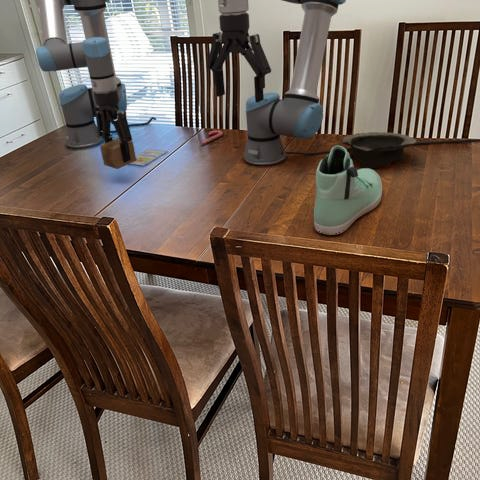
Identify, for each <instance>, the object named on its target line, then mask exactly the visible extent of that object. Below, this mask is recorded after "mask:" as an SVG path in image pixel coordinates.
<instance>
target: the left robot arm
mask: <svg viewBox="0 0 480 480" xmlns="http://www.w3.org/2000/svg"><path fill="white" fill-rule="evenodd" d="M34 1H35V5H36V6H37V8H38V10H39V19H40V29H41V39H42V45H41V46H38V47H36V49H35V55H36V60H37V62H38V66H39V68H40V70H41V71H42V72H58V71H65V70H73V69H83V68H87V71H88V75H89V80H90V85H91V87H89V88H88V86H87V85H86V84H77V85H73V86H70V87H67V88H63V90H61V91H60V92H59V94H58V99H59V105H60V107H61V111H62V115H63V119H64V123H65V126H66V133H65V144H66V148H68V149H70V150H85V149H92V148H94V147H97V146H100V145H102V144H103V143H104V144H105V143H107V142H110V141H112V140H114V139H113V137H112V134H116V135H117V136H118V137H117V138H119V139H120V141H121V143H119V144H120V148H121V153H122V157H123V162H127V161H129V160H131V157H130V152H129V151H130V149H129V144H128V142H129V141H133V137H132V133H131V130H130V129H131V128H130V127H142V126H143V127H144V126H147V125H149V124H151V122H152V121H153V120H154V121H157V118H156V117H154V116H152V117H150V119H149V120H148V121H146V122H143V123H130V124H129V123H128V122H129V121H128V119H127V109H128V99H127V97H128V96H127V89H126V84H125V83H123V82H122V80H121V79H120V78H119V77H118V76H117V75H116V69H115V64H114V59H113V55H112V49H111V44H110V39H109V33H108V29H107V25H106V19H105V14H104V13H105V10H106V9H107V3H108V2H109V1H110V0H34ZM65 6H73V8H74V9H73V10H74V12H76V13H77V14H79V16H80V20H81V25H82V29H83V34H84V37H85V38H84V39H83V40H82V41H79V42H68V38H67V30H66V24H65V18H64V10H63V9H64V8H65ZM111 125H112V126H113V128H114V129H115V130H111Z"/></svg>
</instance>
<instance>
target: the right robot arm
mask: <svg viewBox="0 0 480 480" xmlns="http://www.w3.org/2000/svg"><path fill="white" fill-rule="evenodd" d="M281 1H283V2H286V3H291V4H295V5H301V6H300V8H301V9H302V10H303V12H304V16H303V21H302V26H301V32H300V37H299V40H298V41H299V42H298V47H297V51H296V52H297V53H296V58H295V63H294V68H293V73H292V77H291V78H292V79H291V84H290V88H289V90H287V91H286V92H285V93H284V96H283V99H280V98H281V97H280V94H279V93H278V92H264V89H266V75H268V74H271V73H272V67H271V65H270V63H269V61H268V58H267V56H266V54H265V51H264V48H263V47H262V44H261V38H260V34H259V33H256V34H255V33H254V34H252V35H250V33H249V30H250V14H249V13H248V11H249V10H250V9H249V8H250V7H249V0H217V7H218V13H219V14H220V15H219V16H218V21H219V30H220V31H219V32H215V33H212V36H211V37H212V39H211V40H212V42H211V47H210V51H209V55H208V58H207V62H206V69H207V70H211V72H212V77H213V82H214V84H215V92H216V97H218V98H219V97H222V96H225V95H226V91H225V77H224V70H222V67H223V65H224V63H226V60H227V58H228V56H229V55H230V54H233V53H235V54H240V55H241V56H243V57H244V59H245V61H246V62H247V63H248V65H249V66H250V68H251V69H252V71H253V72H254V74H255V76H254V77H253V83H254V95H253V96H251V97H249V98H247V99H246V102H245V117H246V131H247V142H246V146H245V150H244V153H243V161H244V163H246V164H247V165H250V166H252V167H258V168H259V167H260V168H266V167H274V166H277V165H280V164H282V163H284V162H285V161H286V159H287V155H300V156H311V155H313V156H314V155H321V154H322V155H323V154H330V152H331V150H323V151H316V152H298V151H296V152H295V151H286V150H285V147H284V144H283V141H282V139H281V136H283V137H284V136H285V137H288V138H289V137H290V138H295V139H303V140H307V139H311V138H313V137H314V136H315V135H316V134H317V133H318V131H319V130H320V128H321V125H322V123H323V119H324V108H323V106H322V104H320V98H319V96H318V95H317V92H318V91H317V90H318V85H319V80H320V77H321V76H320V75H321V71H322V65H323V61H324V55H325V51H326V46H327V40H328V35H329V31H330V25H331V20H332V17H333V16H334V15H336V14H337V13H338V9H339V6H340V5H343V4H346V1H347V0H281ZM222 43H223V45H222ZM416 142H417V143H415V144H414V145H431V144H449V143H450V144H451V143H468V142H480V138H476V139H475V138H473V139H456V140H455V139H454V140H436V141H420V142H419V141H416ZM345 149H346V150H347V151H351V147H348V148H345Z"/></svg>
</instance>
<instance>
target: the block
mask: <svg viewBox="0 0 480 480" xmlns="http://www.w3.org/2000/svg"><path fill="white" fill-rule="evenodd" d="M119 143H121V141H120V139H119V137H117V138H115V139H113V140H112V141H110V142H107V143H105V142H104V143H101V144H99V149H100V153H101V156H102V161H103V165H104V166H106V167H109V168H112V169H114V170H115V169H116V170H119V169H121V168H123V167H126V166H128V165H131V164H130V163H132V162H134V161H136V156H137V155H136V152H135V147H134V141H133V140H132V141H129V142H128V144H129V149H130V151H129V152H130V157H131V160H129V161H127V162H123V157H122V153H121V148H120V144H119Z"/></svg>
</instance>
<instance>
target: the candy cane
mask: <svg viewBox="0 0 480 480" xmlns="http://www.w3.org/2000/svg"><path fill="white" fill-rule="evenodd" d="M212 135H213V136H212ZM223 135H224V133H223V131H222V130H212V131H209V132H208V136H210V137H209V138H207V139H205V140H203V141H201V142H200V145H201V146H205V145H206V144H208V143H210V142H212V141H214V140H217V139H218V138H220V137H222V136H223Z"/></svg>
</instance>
